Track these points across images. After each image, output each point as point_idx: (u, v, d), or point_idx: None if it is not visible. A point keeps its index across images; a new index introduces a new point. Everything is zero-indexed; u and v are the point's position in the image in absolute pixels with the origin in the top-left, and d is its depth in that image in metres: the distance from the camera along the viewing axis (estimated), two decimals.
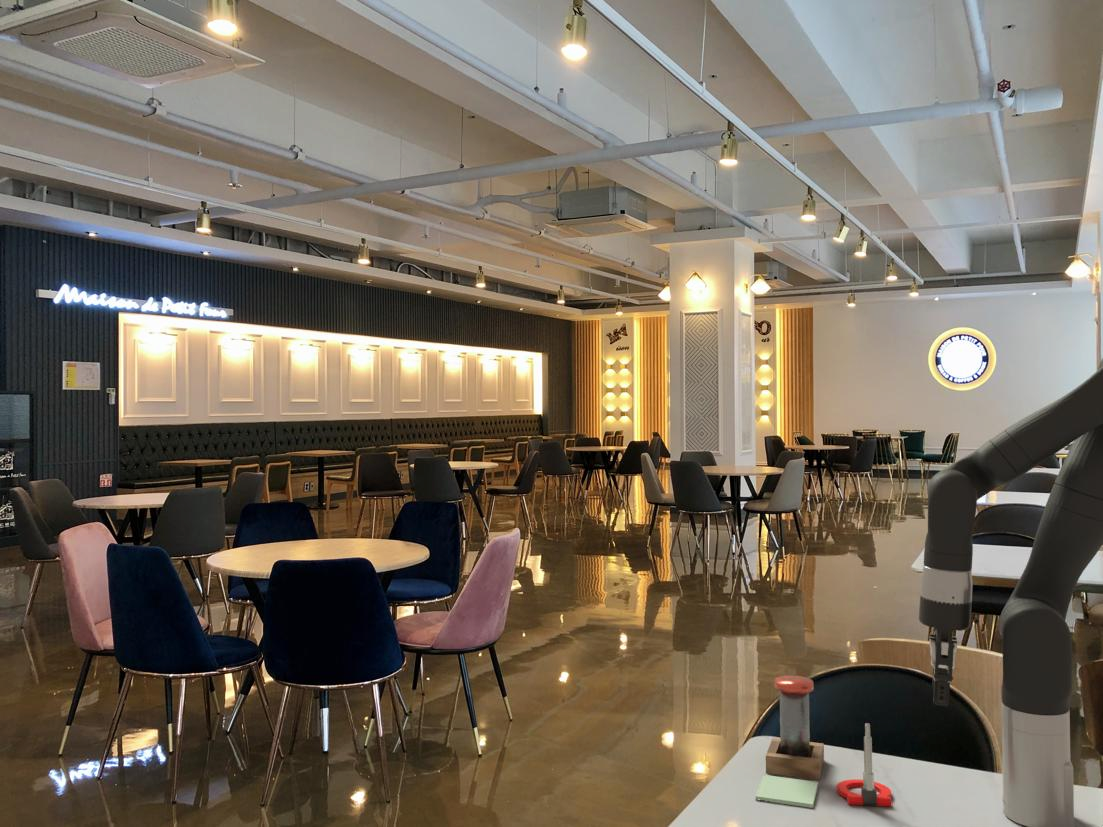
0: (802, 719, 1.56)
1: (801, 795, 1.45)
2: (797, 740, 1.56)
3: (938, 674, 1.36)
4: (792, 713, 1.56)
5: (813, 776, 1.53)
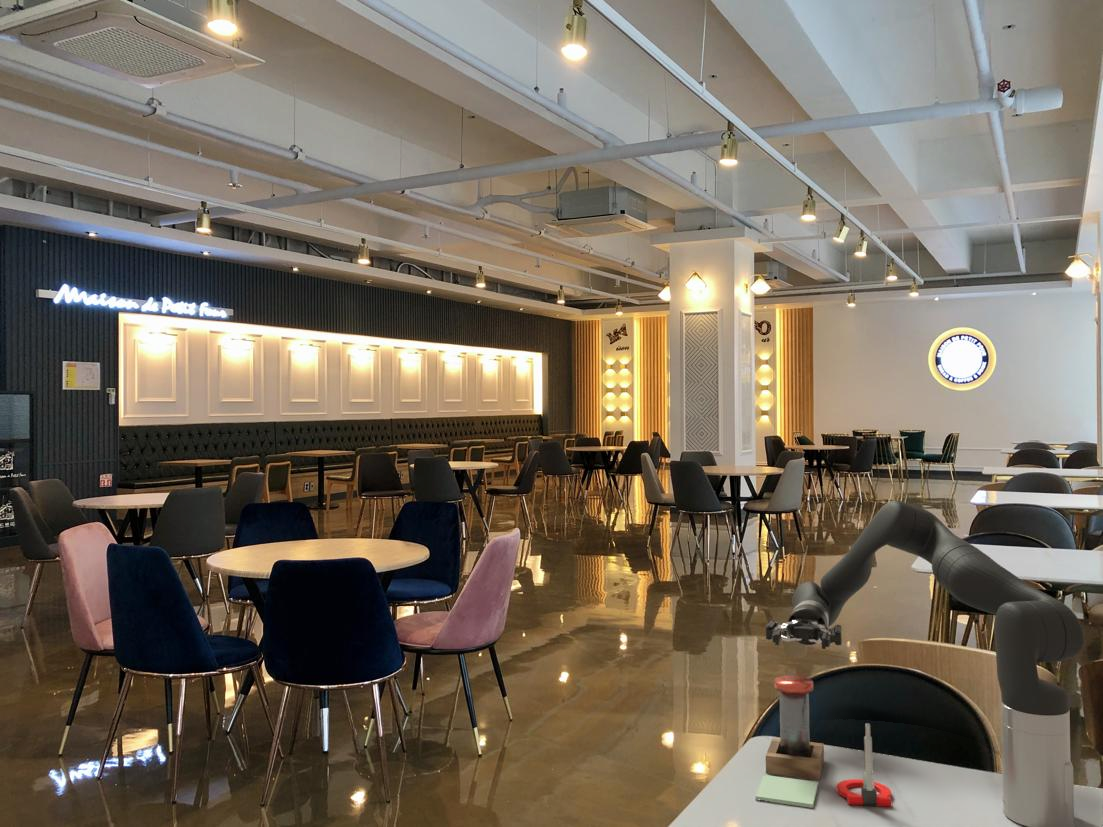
0: (802, 719, 1.56)
1: (801, 795, 1.45)
2: (797, 740, 1.56)
3: None
4: (792, 713, 1.56)
5: (813, 776, 1.53)
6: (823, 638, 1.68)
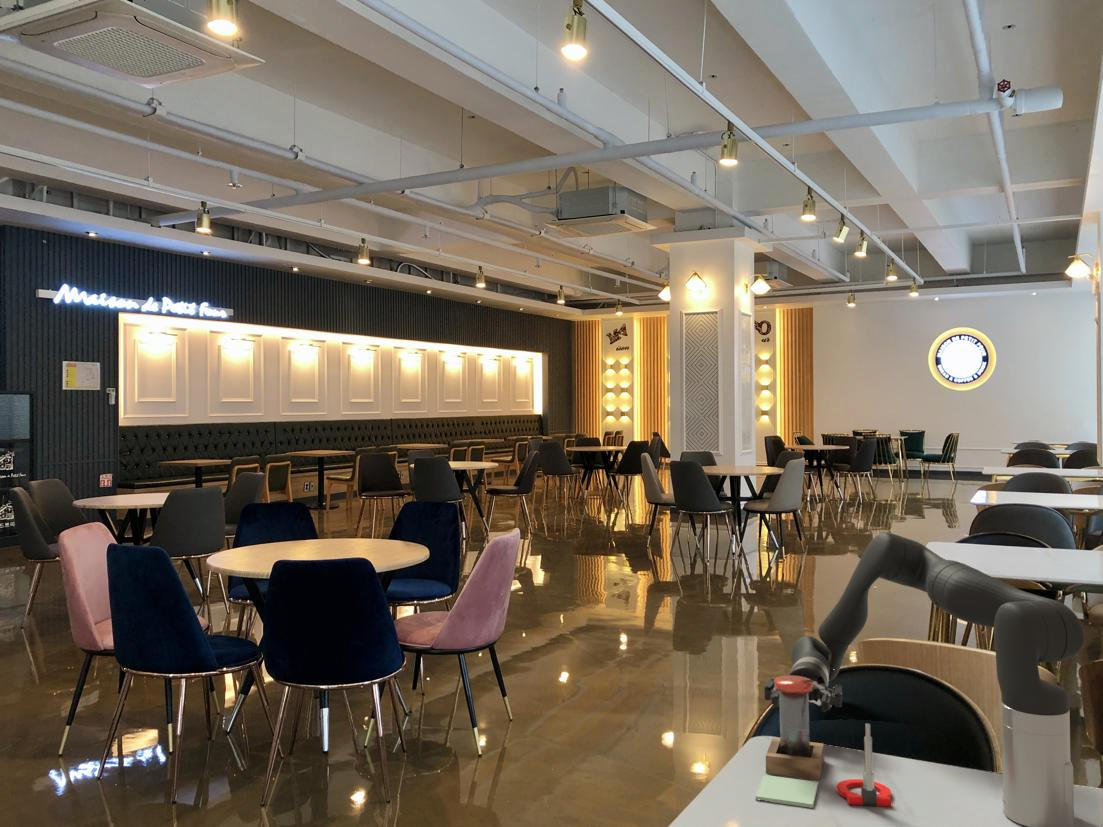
0: (802, 719, 1.56)
1: (801, 795, 1.45)
2: (797, 740, 1.56)
3: None
4: (792, 713, 1.56)
5: (813, 776, 1.53)
6: (823, 701, 1.64)
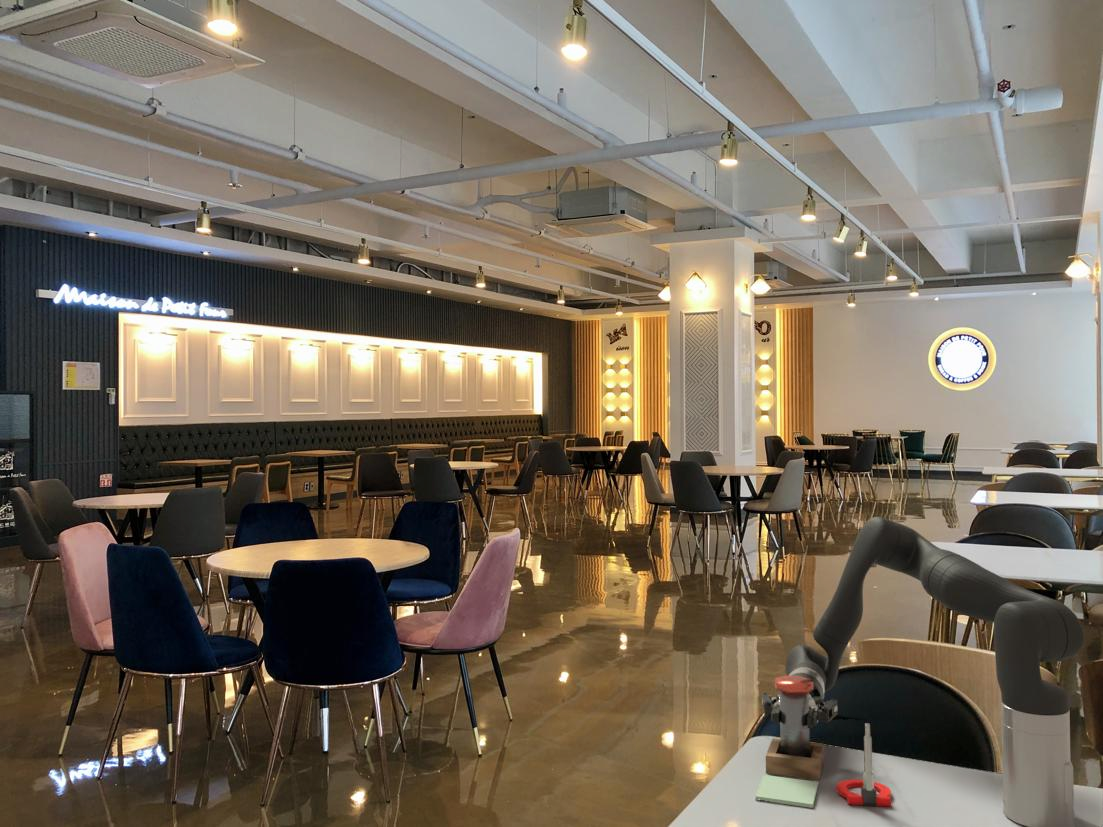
0: (802, 719, 1.56)
1: (801, 795, 1.45)
2: (797, 740, 1.56)
3: None
4: (792, 713, 1.56)
5: (813, 776, 1.53)
6: (809, 716, 1.55)
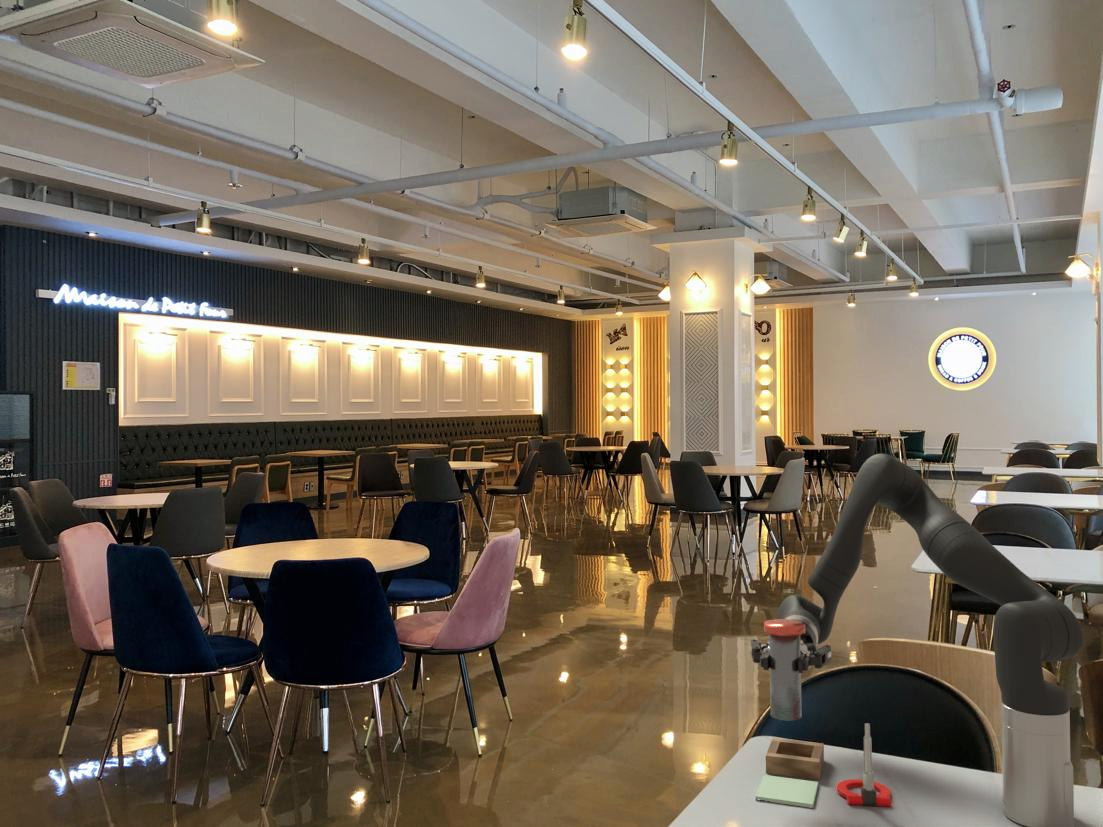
0: (793, 663, 1.46)
1: (801, 795, 1.45)
2: (788, 686, 1.46)
3: None
4: (783, 658, 1.46)
5: (813, 776, 1.53)
6: (800, 661, 1.45)
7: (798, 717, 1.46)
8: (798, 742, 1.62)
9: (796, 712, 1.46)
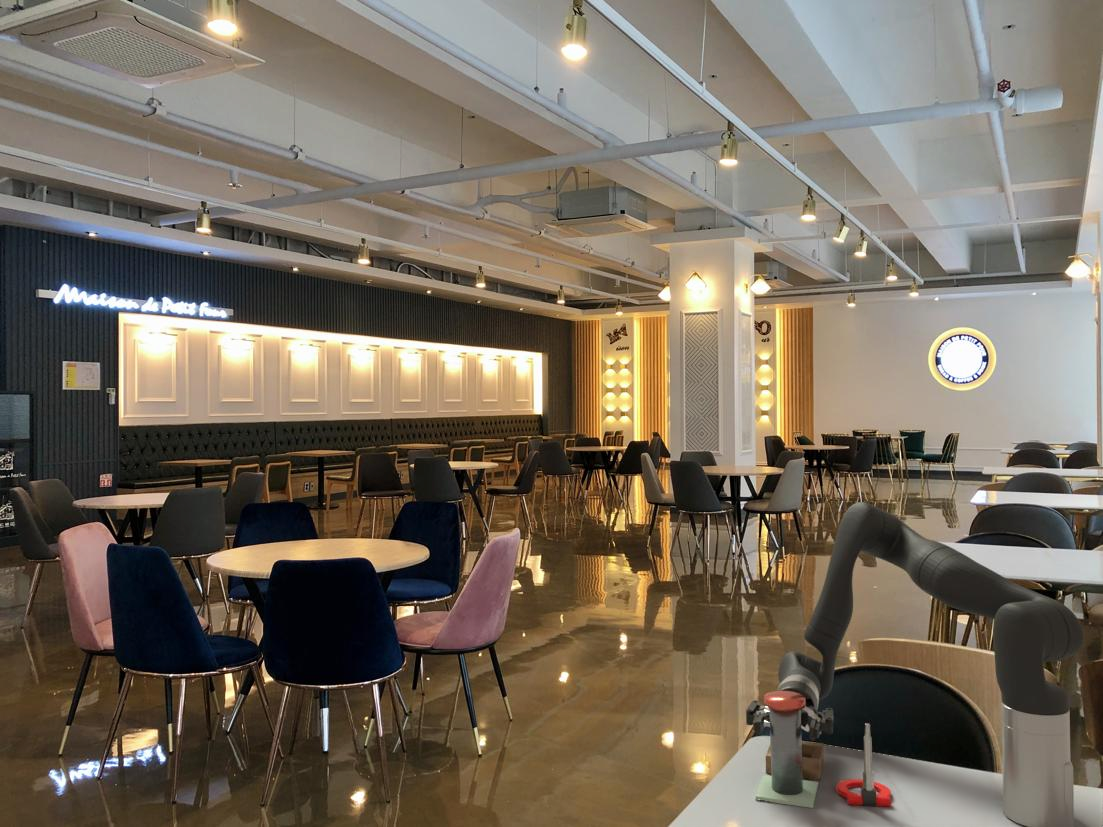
0: (794, 738, 1.46)
1: (801, 795, 1.45)
2: (789, 761, 1.46)
3: None
4: (783, 732, 1.46)
5: (813, 776, 1.53)
6: (811, 728, 1.45)
7: (799, 791, 1.46)
8: None
9: (797, 786, 1.46)
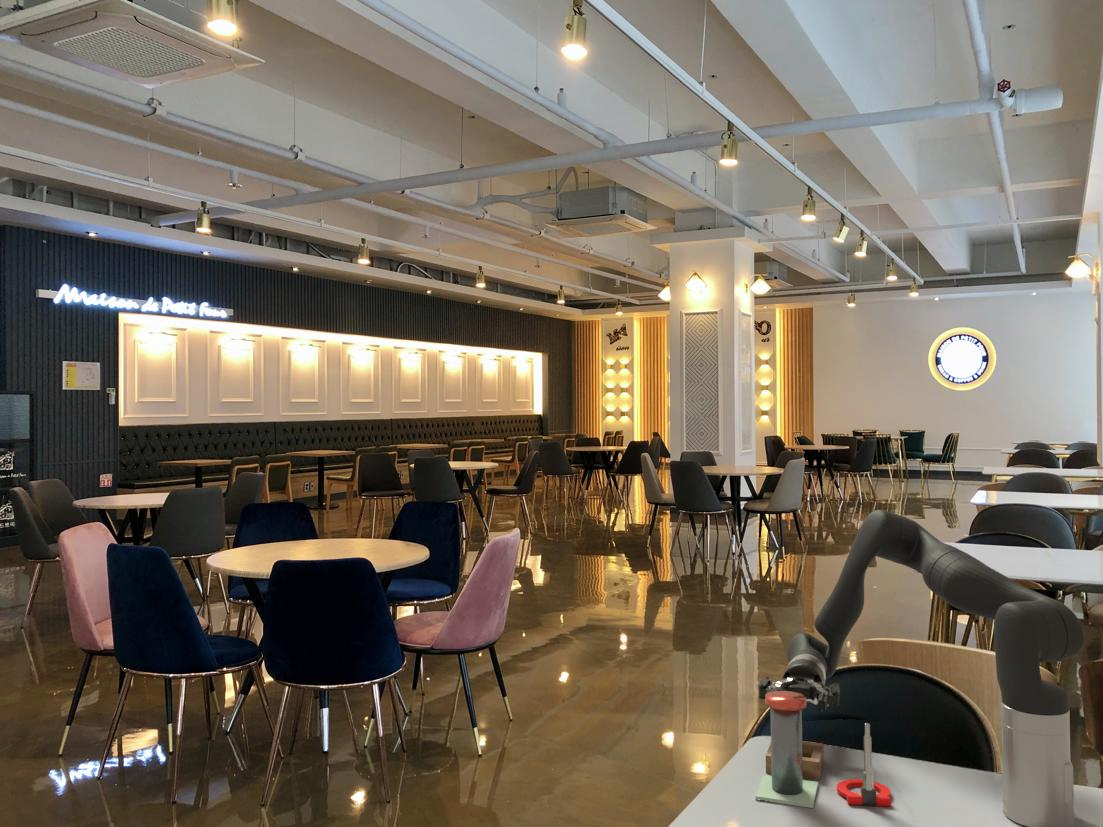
0: (794, 738, 1.46)
1: (801, 795, 1.45)
2: (789, 761, 1.46)
3: None
4: (784, 732, 1.46)
5: (813, 776, 1.53)
6: (819, 700, 1.57)
7: (799, 791, 1.46)
8: None
9: (797, 786, 1.46)
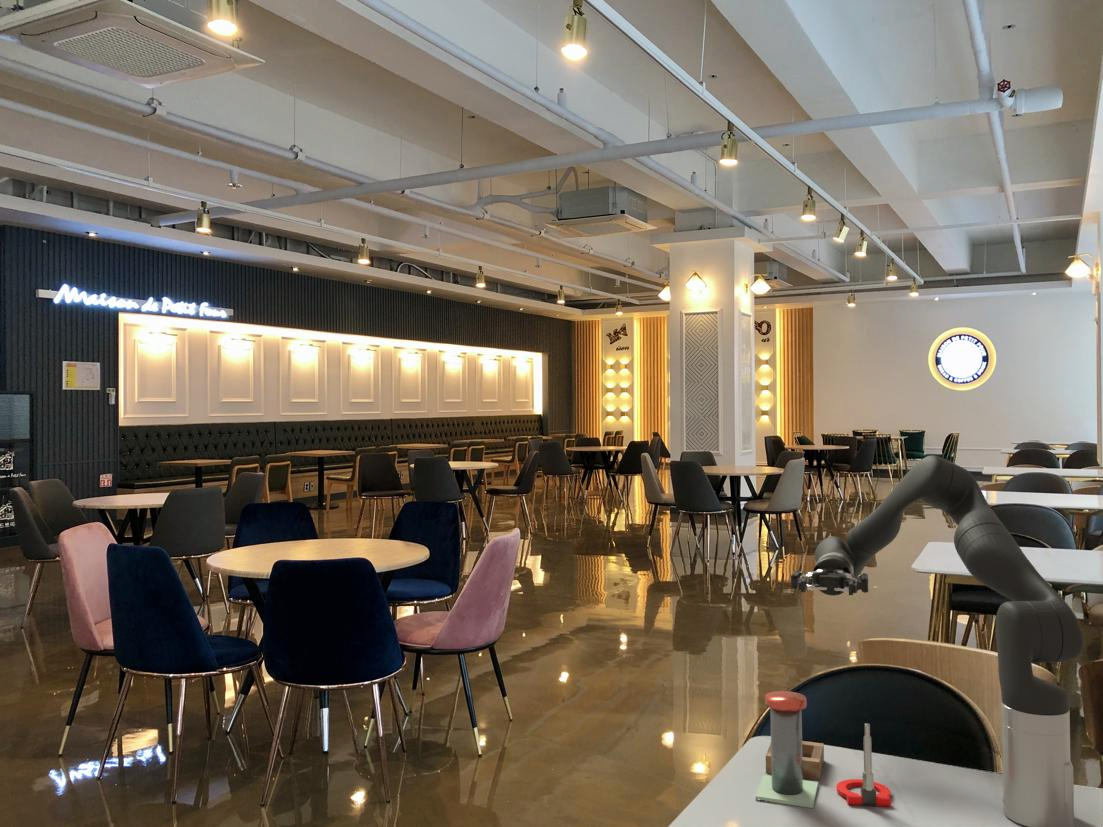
0: (794, 738, 1.46)
1: (801, 795, 1.45)
2: (789, 761, 1.46)
3: None
4: (784, 732, 1.46)
5: (813, 776, 1.53)
6: (850, 584, 1.65)
7: (799, 791, 1.46)
8: None
9: (797, 786, 1.46)
